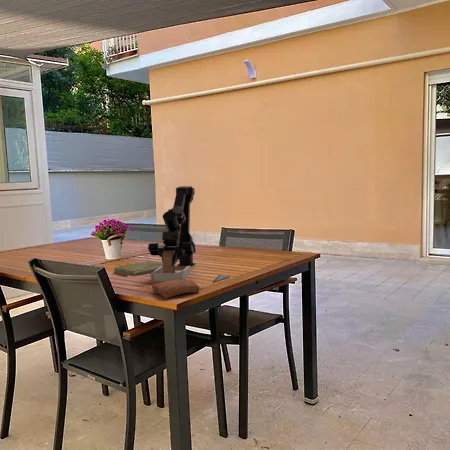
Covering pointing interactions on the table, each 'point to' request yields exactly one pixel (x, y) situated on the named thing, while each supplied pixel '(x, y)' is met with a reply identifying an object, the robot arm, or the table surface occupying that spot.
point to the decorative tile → (137, 268)
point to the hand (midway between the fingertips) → (168, 265)
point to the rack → (169, 275)
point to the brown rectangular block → (168, 262)
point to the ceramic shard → (174, 288)
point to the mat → (220, 278)
